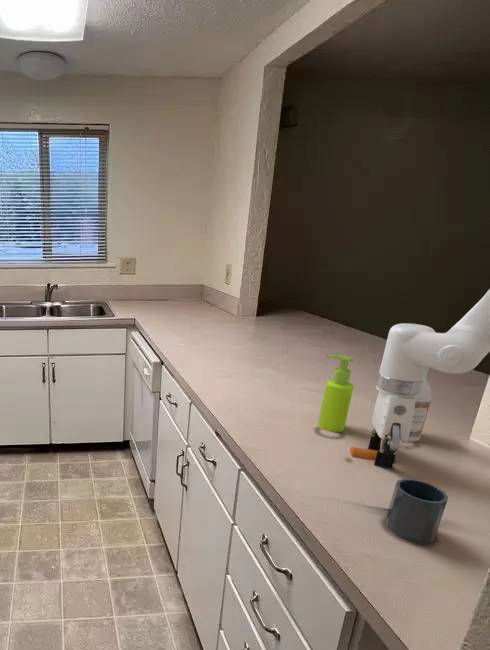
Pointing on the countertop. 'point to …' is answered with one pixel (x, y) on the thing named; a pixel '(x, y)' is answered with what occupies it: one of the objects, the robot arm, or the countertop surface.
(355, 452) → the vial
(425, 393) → the bath foam
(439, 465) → the countertop surface
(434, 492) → the holder
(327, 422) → the soap dispenser
